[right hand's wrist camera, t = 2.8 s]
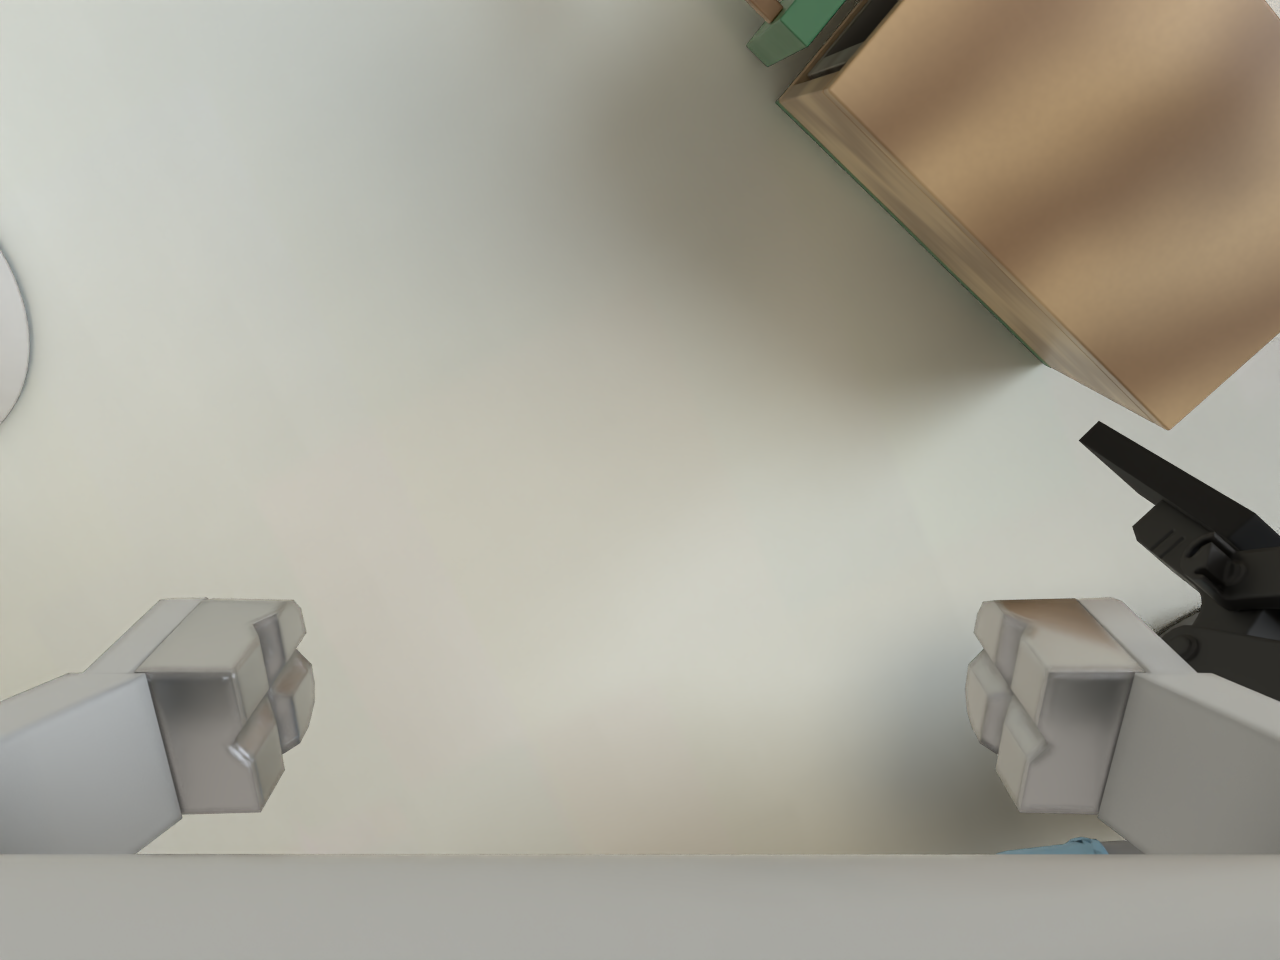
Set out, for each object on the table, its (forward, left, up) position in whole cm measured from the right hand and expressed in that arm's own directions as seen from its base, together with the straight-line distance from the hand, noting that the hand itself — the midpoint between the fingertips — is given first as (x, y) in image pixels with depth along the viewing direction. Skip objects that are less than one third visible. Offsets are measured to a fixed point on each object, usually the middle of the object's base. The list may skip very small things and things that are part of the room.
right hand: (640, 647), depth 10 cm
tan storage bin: (+12, +12, -29) cm, 34 cm away
